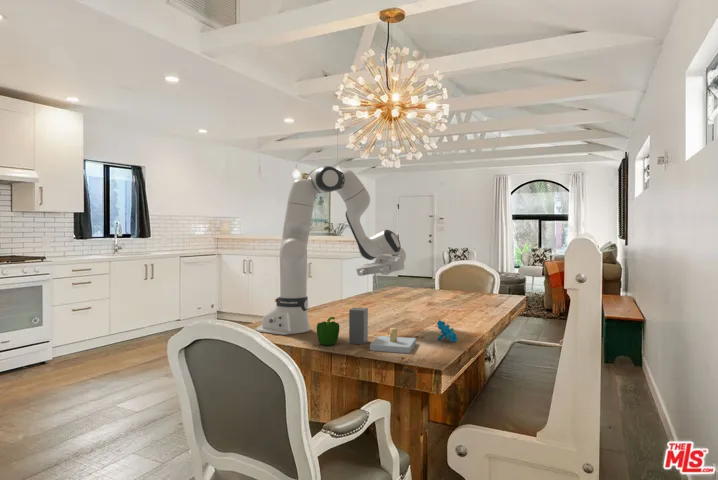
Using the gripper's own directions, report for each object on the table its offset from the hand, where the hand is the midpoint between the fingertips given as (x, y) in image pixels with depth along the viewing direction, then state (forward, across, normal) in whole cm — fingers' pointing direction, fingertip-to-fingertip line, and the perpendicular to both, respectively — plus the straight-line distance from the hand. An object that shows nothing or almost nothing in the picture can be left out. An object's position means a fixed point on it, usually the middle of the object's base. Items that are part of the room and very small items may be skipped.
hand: (371, 272), depth 185 cm
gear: (+3, +27, +30) cm, 40 cm away
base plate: (+21, +14, +24) cm, 34 cm away
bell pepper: (+29, -9, +19) cm, 35 cm away
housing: (+21, -1, +21) cm, 30 cm away
